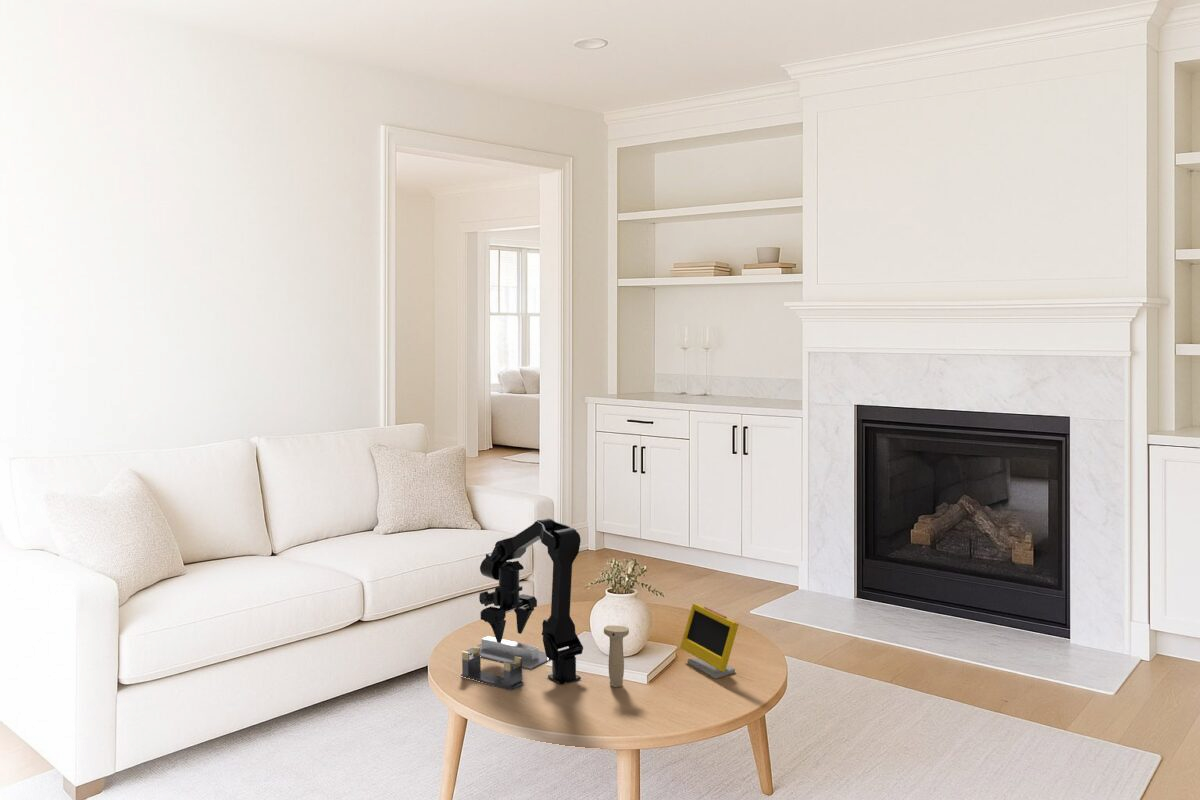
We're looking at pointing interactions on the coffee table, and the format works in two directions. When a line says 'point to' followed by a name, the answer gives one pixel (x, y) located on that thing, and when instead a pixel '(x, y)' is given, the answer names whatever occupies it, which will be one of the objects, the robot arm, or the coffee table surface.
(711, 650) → the yellow framed monitor
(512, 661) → the mat
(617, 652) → the handle
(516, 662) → the grey stand
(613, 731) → the coffee table surface
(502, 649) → the rail
